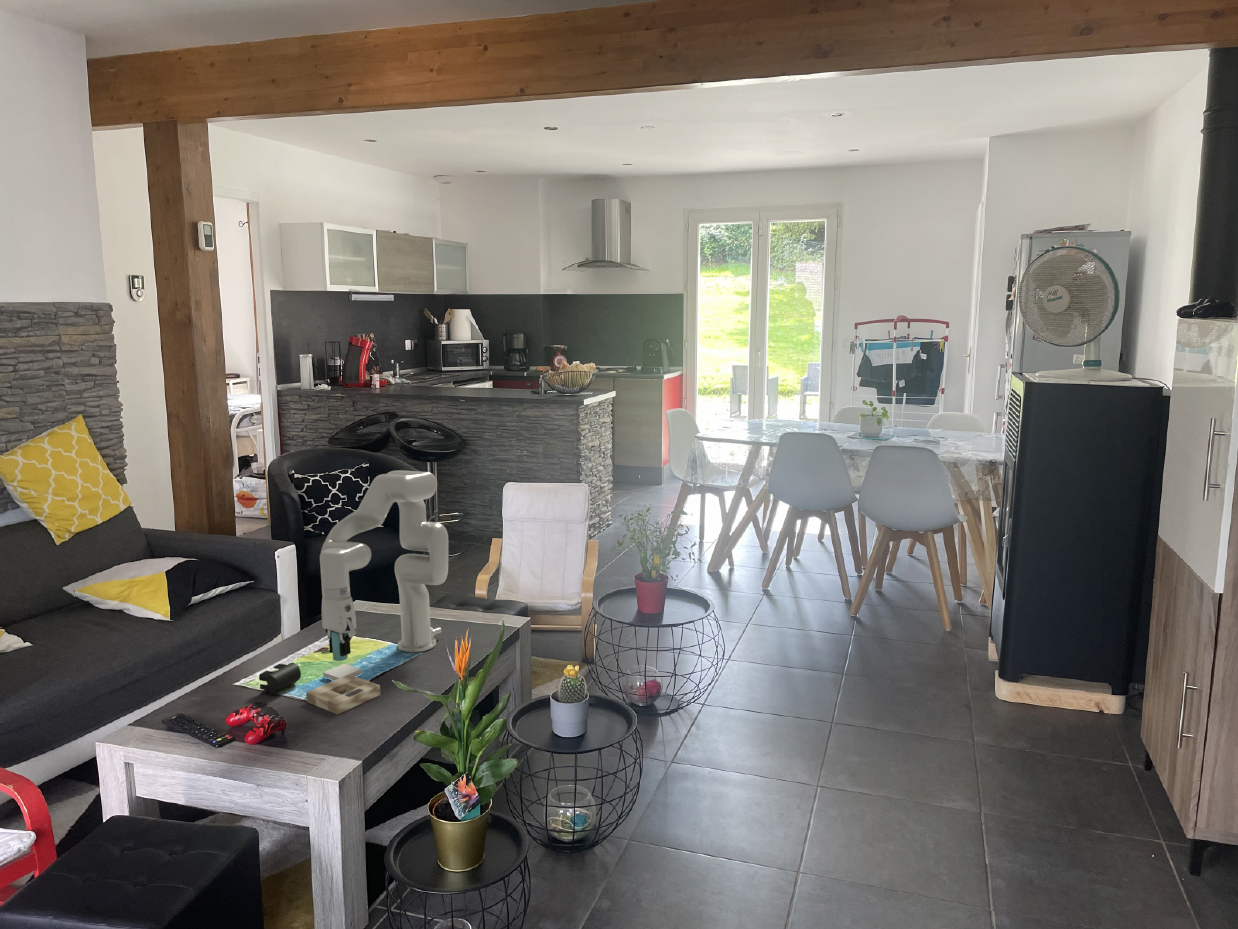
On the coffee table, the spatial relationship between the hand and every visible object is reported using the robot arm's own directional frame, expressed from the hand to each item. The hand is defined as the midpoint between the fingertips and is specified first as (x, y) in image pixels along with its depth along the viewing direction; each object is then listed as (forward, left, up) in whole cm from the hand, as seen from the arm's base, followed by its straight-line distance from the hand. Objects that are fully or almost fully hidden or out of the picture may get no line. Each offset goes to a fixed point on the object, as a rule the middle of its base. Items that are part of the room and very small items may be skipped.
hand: (340, 652), depth 251 cm
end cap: (+6, -21, -14) cm, 26 cm away
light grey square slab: (-10, -13, -14) cm, 22 cm away
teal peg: (0, 0, -2) cm, 2 cm away
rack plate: (0, 0, -14) cm, 14 cm away
